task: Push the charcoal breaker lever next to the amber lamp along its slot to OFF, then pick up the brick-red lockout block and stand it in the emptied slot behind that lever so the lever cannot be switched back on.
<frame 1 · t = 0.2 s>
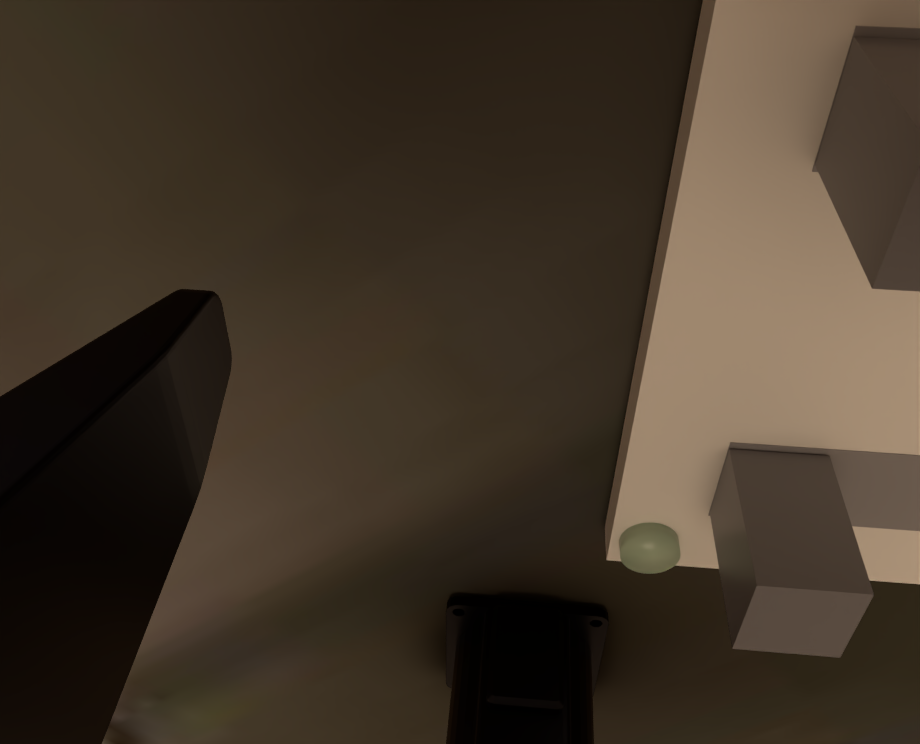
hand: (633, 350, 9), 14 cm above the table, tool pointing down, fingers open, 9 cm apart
beige rectangular board: (885, 291, 25), on the table
breaker a: (782, 549, 26), point 4 cm above the table, slide at 0.0 cm
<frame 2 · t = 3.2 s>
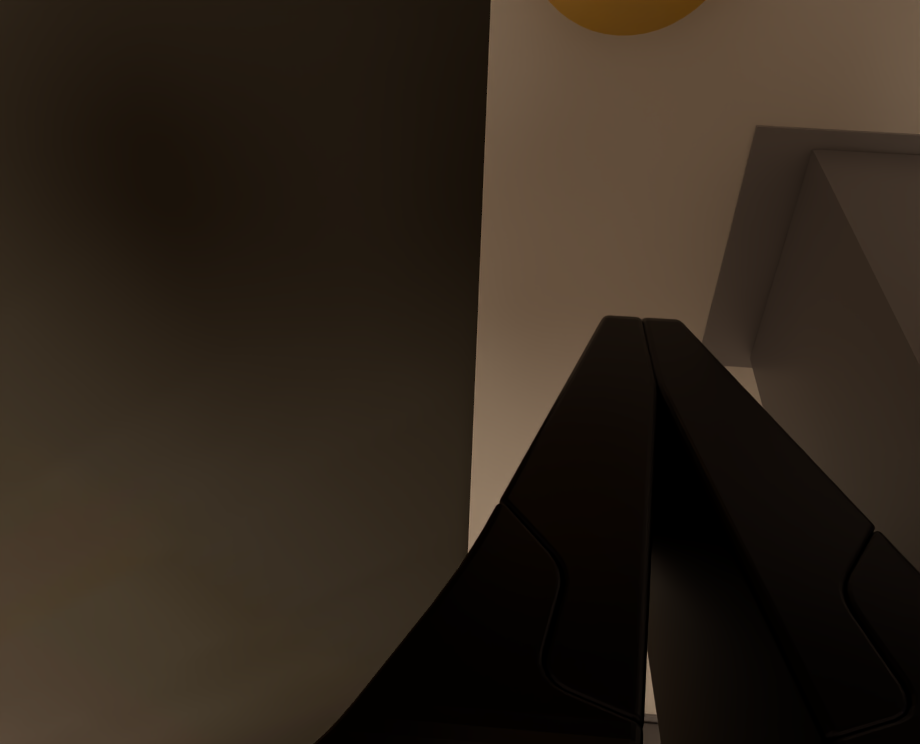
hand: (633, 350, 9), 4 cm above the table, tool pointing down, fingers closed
beige rectangular board: (838, 509, 16), on the table
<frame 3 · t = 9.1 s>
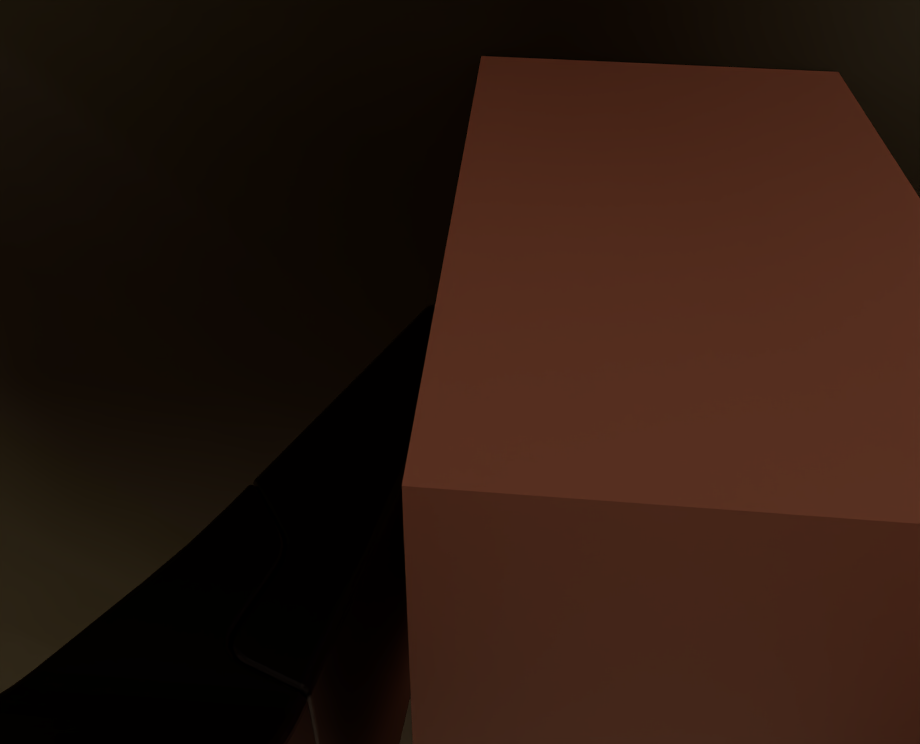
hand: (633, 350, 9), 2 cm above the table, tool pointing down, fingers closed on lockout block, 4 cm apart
lockout block: (624, 270, 11), on the table, touching gripper
when the fingers open (4 cm above the table, at t = 15.3 s): lockout block stays where it is, resting on beige rectangular board.
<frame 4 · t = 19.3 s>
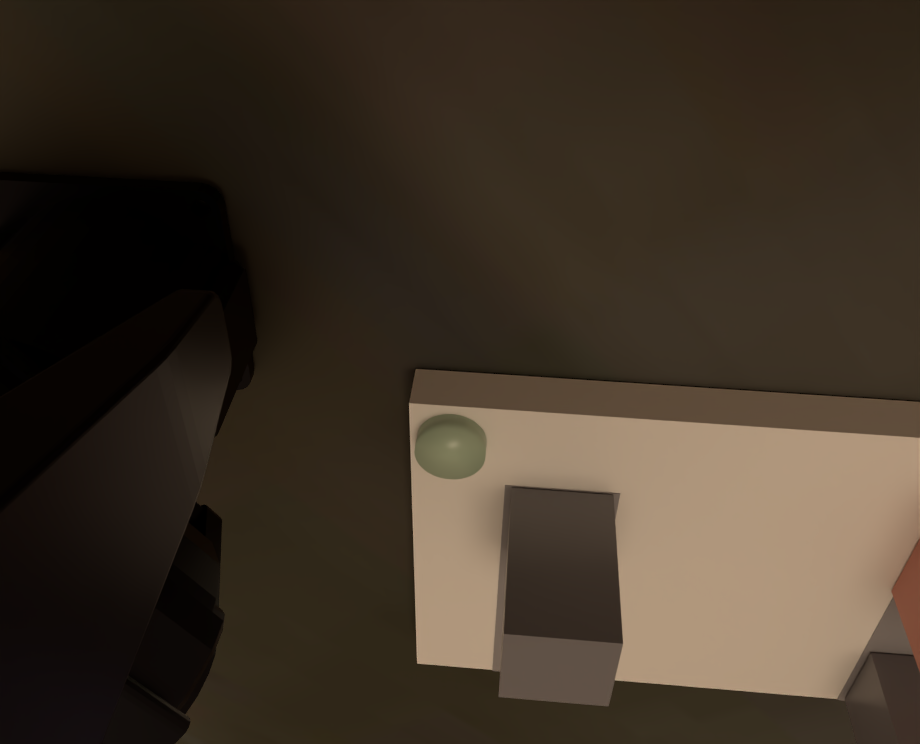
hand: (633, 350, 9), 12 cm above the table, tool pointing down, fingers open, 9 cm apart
beige rectangular board: (750, 541, 29), on the table
breaker a: (558, 592, 25), point 4 cm above the table, slide at 0.0 cm
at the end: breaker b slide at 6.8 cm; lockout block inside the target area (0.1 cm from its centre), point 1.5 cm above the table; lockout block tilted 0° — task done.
